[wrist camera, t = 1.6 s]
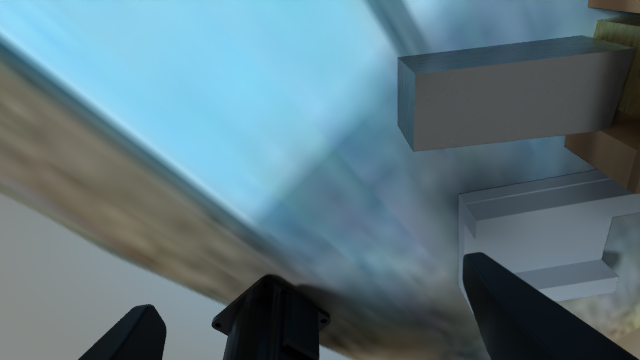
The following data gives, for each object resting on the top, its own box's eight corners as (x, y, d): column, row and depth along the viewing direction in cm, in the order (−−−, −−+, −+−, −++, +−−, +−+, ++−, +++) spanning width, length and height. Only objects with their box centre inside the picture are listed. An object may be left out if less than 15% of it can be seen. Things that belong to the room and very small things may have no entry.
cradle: (458, 285, 26) (473, 315, 24) (458, 194, 22) (476, 219, 20) (587, 264, 25) (614, 293, 23) (610, 167, 21) (646, 190, 19)
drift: (396, 123, 20) (413, 151, 17) (396, 56, 18) (415, 74, 15) (561, 104, 20) (609, 129, 16) (577, 34, 18) (635, 48, 15)
